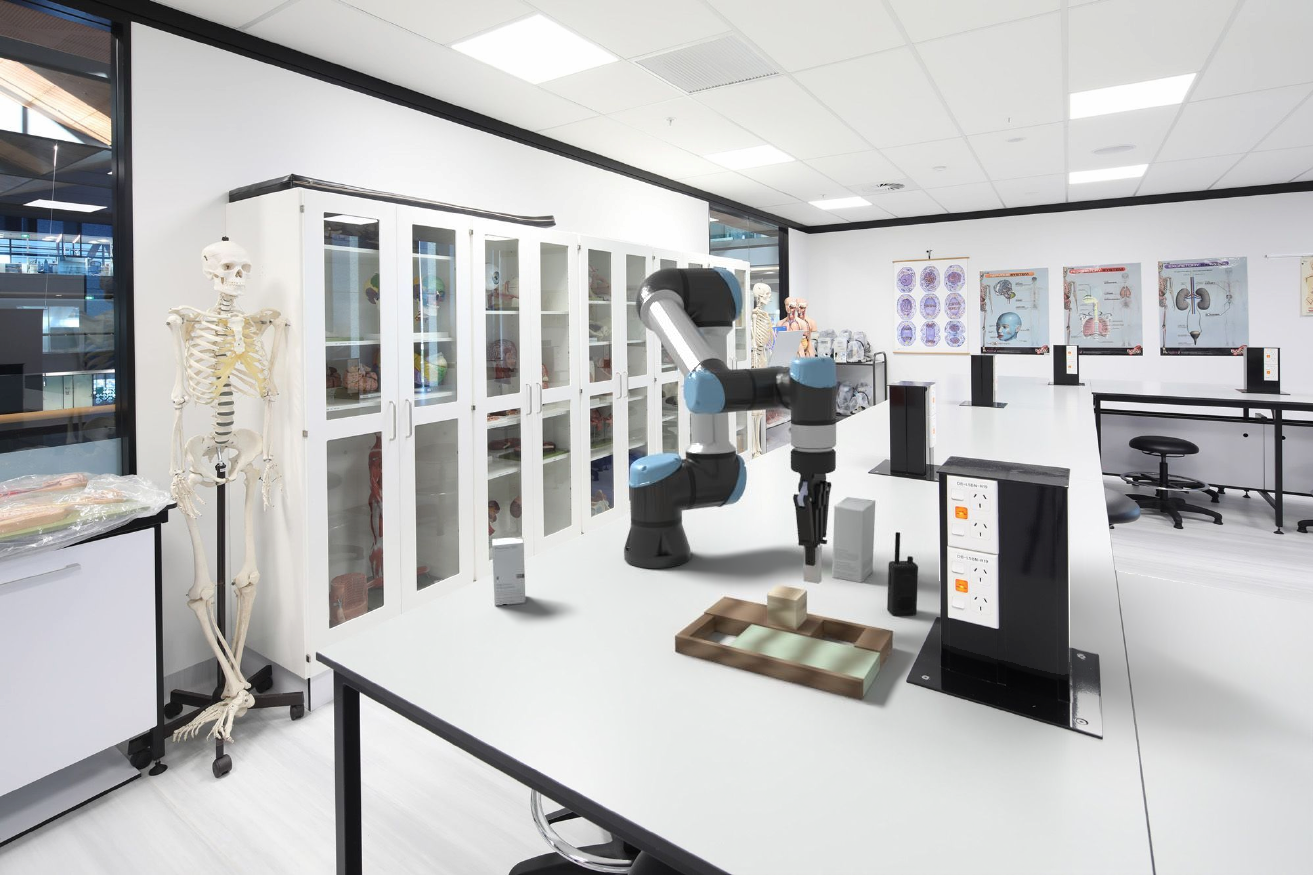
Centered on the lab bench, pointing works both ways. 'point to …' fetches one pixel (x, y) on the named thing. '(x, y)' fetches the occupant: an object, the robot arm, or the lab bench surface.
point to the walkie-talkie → (902, 584)
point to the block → (787, 607)
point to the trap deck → (790, 647)
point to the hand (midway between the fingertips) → (812, 580)
